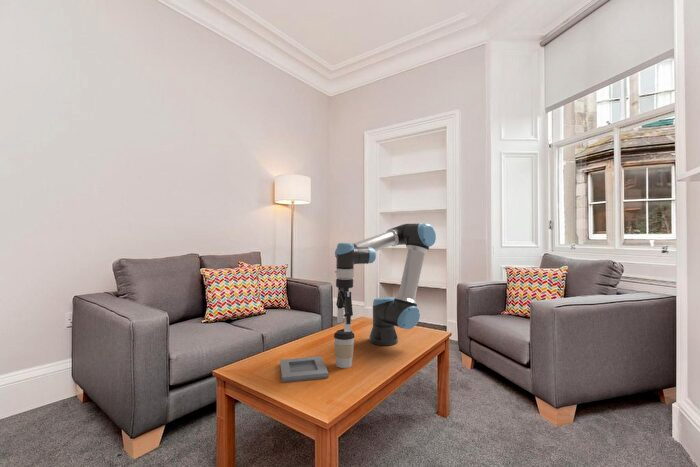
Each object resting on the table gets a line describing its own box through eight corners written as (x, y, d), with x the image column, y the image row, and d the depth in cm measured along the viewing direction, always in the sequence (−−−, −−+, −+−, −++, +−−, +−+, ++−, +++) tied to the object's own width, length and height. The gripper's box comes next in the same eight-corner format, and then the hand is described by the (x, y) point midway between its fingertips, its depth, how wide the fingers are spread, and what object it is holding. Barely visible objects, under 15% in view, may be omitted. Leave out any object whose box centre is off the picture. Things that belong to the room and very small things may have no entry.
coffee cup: (352, 370, 139) (352, 334, 139) (331, 368, 141) (331, 333, 141) (355, 361, 148) (356, 328, 148) (336, 360, 150) (336, 327, 150)
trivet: (320, 360, 149) (320, 356, 149) (328, 377, 132) (328, 372, 132) (280, 364, 145) (280, 359, 144) (282, 382, 127) (282, 377, 127)
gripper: (330, 274, 155) (329, 319, 155) (342, 282, 131) (341, 336, 131) (346, 274, 157) (345, 319, 157) (361, 282, 133) (360, 335, 133)
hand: (343, 327), depth 144 cm, fingers open, 13 cm apart
